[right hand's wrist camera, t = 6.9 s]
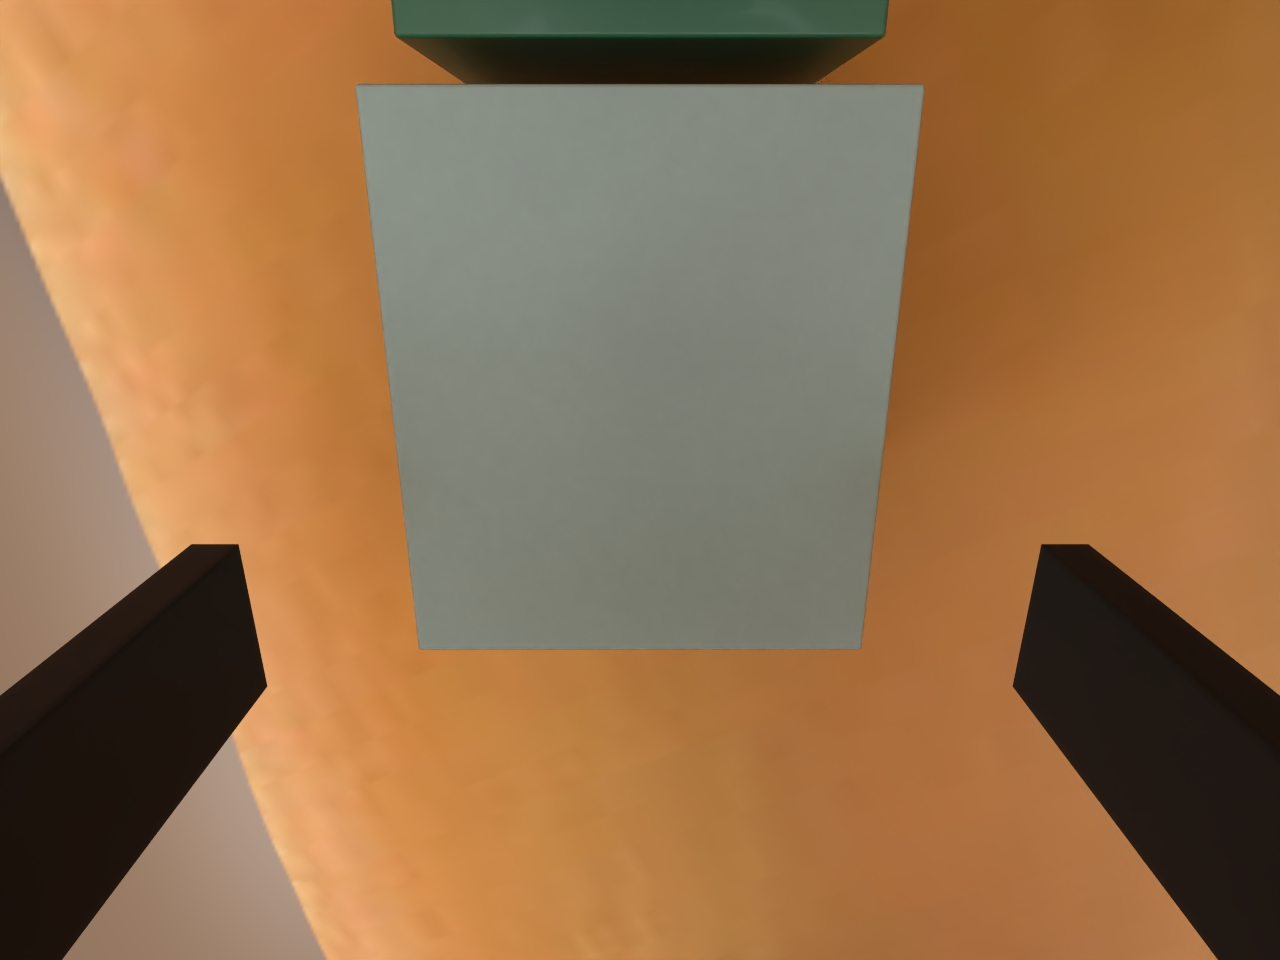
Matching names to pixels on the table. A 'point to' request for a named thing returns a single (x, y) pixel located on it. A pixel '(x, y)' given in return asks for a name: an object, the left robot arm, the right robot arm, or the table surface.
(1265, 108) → the table surface
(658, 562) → the grey box
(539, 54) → the drawer
